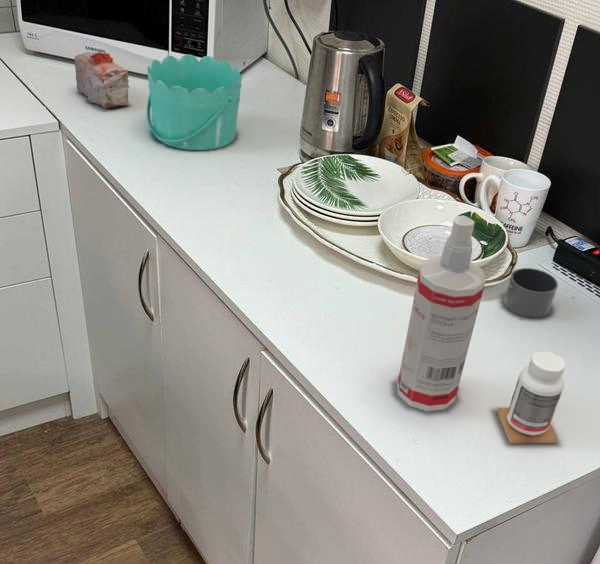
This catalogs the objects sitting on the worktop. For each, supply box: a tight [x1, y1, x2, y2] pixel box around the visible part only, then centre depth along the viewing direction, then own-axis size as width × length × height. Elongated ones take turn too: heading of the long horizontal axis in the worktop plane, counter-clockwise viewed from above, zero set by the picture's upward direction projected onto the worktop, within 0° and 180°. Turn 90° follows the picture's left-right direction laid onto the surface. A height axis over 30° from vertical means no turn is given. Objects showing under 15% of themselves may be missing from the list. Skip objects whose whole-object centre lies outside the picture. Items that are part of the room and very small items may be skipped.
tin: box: [503, 267, 559, 319], centre depth 123 cm, size 7×7×4 cm
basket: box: [146, 53, 243, 151], centre depth 161 cm, size 19×18×13 cm
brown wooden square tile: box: [496, 407, 558, 445], centre depth 102 cm, size 6×6×1 cm
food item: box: [74, 51, 130, 109], centre depth 173 cm, size 14×8×10 cm, turn 41°
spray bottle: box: [397, 214, 487, 412], centre depth 98 cm, size 8×8×25 cm
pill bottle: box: [507, 351, 566, 435], centre depth 98 cm, size 5×5×10 cm
